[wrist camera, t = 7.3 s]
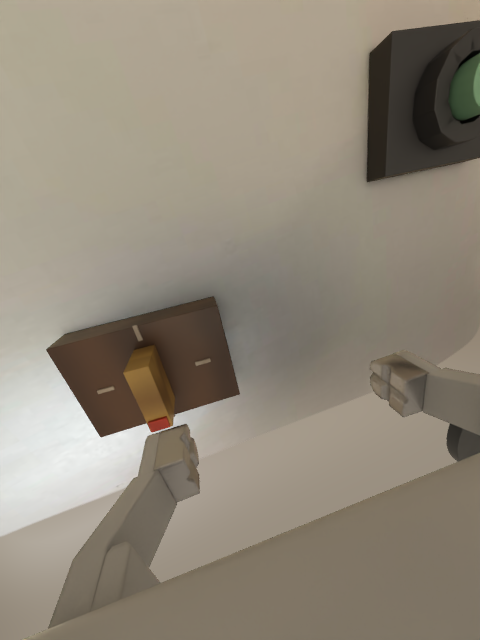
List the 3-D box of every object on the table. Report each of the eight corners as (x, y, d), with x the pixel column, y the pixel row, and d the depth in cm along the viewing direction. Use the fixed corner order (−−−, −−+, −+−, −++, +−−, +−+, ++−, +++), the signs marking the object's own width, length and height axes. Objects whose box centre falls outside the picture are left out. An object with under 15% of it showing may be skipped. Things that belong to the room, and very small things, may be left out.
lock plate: (213, 295, 22) (217, 304, 19) (234, 378, 26) (240, 396, 23) (63, 333, 21) (43, 349, 18) (110, 415, 25) (100, 439, 22)
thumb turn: (133, 349, 19) (121, 374, 16) (154, 344, 20) (147, 367, 16) (156, 403, 22) (150, 435, 18) (175, 397, 22) (172, 428, 19)
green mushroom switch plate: (484, 37, 19) (553, -8, 16) (464, 161, 23) (517, 148, 19) (369, 53, 18) (415, 7, 14) (366, 182, 22) (403, 171, 18)
